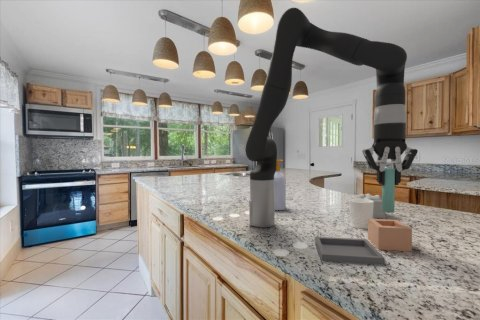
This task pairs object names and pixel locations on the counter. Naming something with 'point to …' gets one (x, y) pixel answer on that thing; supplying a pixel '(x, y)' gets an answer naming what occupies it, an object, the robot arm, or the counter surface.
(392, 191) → the dowel
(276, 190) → the soap bottle
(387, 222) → the pot
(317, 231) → the counter surface
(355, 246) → the tray
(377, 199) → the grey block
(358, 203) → the white cup
